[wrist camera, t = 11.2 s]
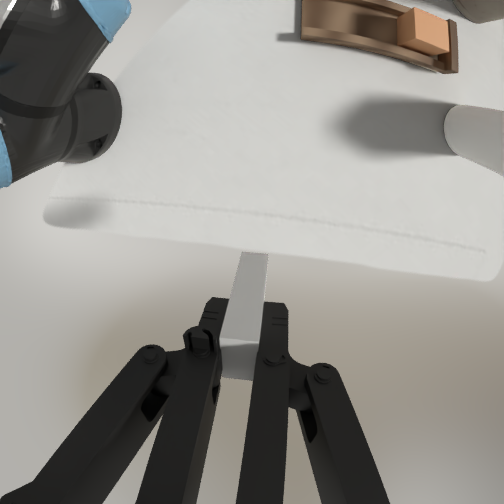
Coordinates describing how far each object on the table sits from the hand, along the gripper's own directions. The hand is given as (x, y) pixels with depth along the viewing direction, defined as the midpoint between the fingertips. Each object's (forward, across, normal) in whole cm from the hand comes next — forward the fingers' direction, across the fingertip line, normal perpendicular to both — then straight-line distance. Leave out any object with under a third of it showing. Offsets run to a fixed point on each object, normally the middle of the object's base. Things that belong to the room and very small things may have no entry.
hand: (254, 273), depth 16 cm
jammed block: (+24, +19, +24) cm, 38 cm away
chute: (+24, +13, +24) cm, 37 cm away
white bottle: (+25, +29, +12) cm, 40 cm away
